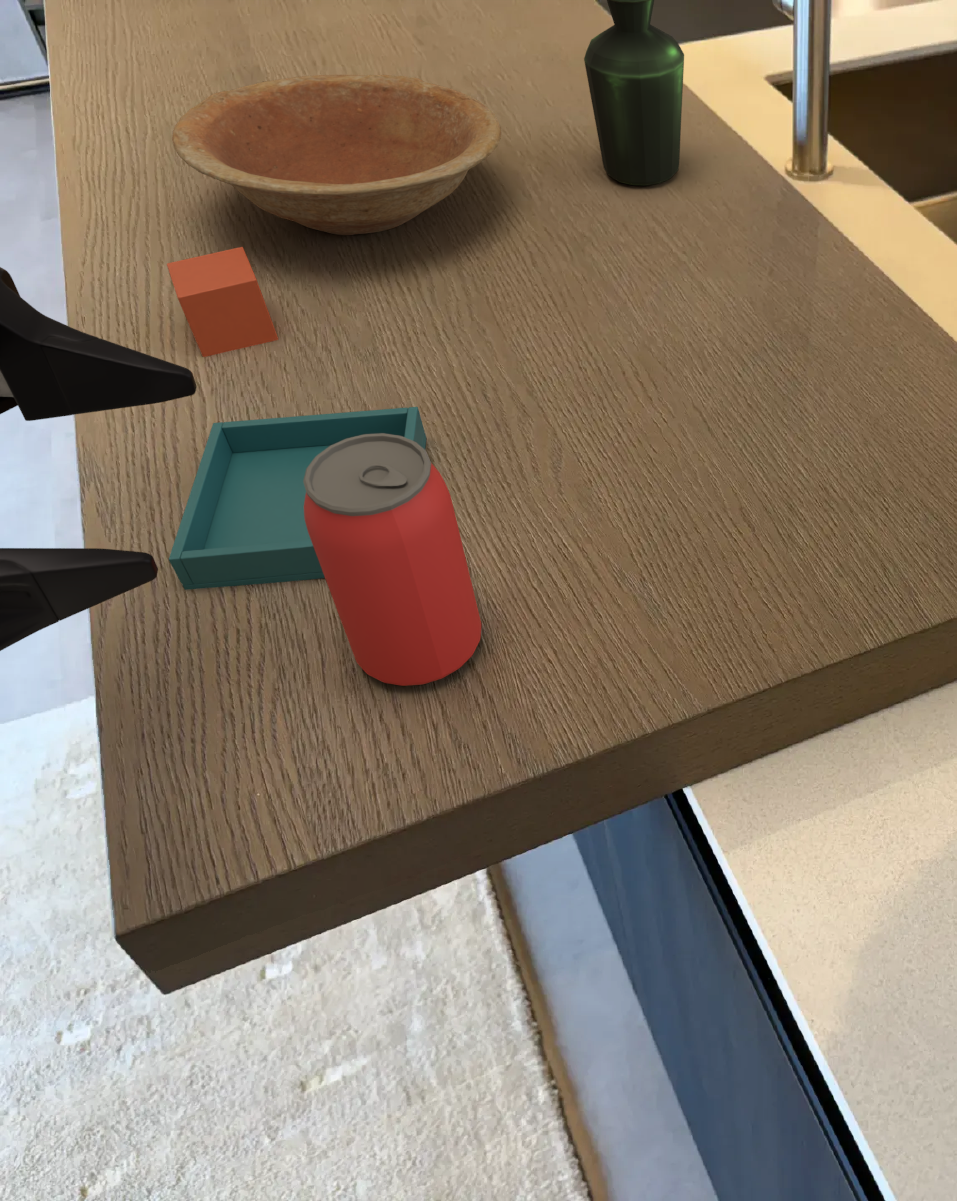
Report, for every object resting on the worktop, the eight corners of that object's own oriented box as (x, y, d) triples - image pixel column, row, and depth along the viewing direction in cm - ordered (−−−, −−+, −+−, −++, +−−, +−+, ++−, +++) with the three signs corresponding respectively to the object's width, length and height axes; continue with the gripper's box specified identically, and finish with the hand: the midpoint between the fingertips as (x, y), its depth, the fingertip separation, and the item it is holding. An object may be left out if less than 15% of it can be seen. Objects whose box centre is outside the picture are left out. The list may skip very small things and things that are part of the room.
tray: (185, 592, 63) (167, 559, 61) (227, 454, 71) (212, 422, 69) (411, 570, 64) (401, 537, 62) (426, 437, 73) (417, 406, 71)
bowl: (549, 250, 90) (536, 152, 84) (232, 316, 82) (193, 212, 76) (466, 130, 104) (450, 39, 98) (189, 177, 96) (154, 80, 90)
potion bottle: (706, 177, 98) (700, -53, 85) (622, 199, 95) (604, -36, 82) (659, 141, 103) (647, -83, 90) (578, 161, 99) (553, -68, 87)
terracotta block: (204, 361, 78) (177, 297, 74) (193, 326, 81) (166, 262, 77) (280, 342, 80) (256, 279, 76) (265, 308, 83) (242, 245, 79)
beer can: (441, 707, 57) (389, 533, 49) (329, 671, 59) (259, 496, 50) (506, 618, 62) (468, 444, 53) (400, 587, 63) (347, 412, 54)
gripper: (-690, 523, 27) (47, 524, 31) (-359, 88, 38) (161, 128, 41) (-390, 747, 36) (155, 726, 40) (-190, 344, 46) (226, 358, 50)
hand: (175, 468), depth 42 cm, fingers open, 9 cm apart
